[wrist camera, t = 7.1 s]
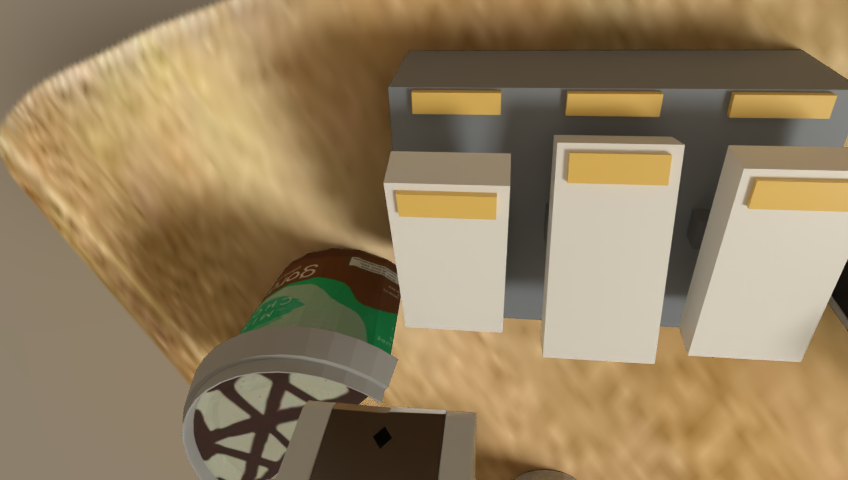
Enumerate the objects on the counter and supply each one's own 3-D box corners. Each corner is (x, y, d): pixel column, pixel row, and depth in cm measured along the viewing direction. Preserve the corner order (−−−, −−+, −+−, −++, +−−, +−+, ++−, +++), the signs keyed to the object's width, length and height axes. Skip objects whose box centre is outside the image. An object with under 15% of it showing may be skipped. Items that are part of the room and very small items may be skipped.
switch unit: (738, 265, 30) (784, 348, 25) (417, 252, 32) (399, 326, 27) (802, 50, 24) (878, 100, 19) (408, 50, 26) (382, 96, 21)
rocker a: (785, 332, 24) (802, 366, 22) (678, 326, 24) (689, 359, 23) (862, 147, 19) (890, 175, 17) (728, 145, 19) (745, 171, 18)
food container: (327, 183, 30) (256, 308, 22) (422, 254, 32) (389, 395, 23) (216, 318, 36) (125, 457, 28) (300, 372, 38) (239, 519, 29)
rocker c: (503, 301, 25) (502, 336, 24) (410, 296, 26) (404, 331, 25) (510, 153, 20) (509, 190, 18) (391, 151, 20) (382, 186, 19)
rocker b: (645, 342, 23) (655, 366, 22) (540, 336, 24) (543, 360, 22) (671, 136, 21) (686, 145, 19) (553, 134, 21) (558, 143, 19)
